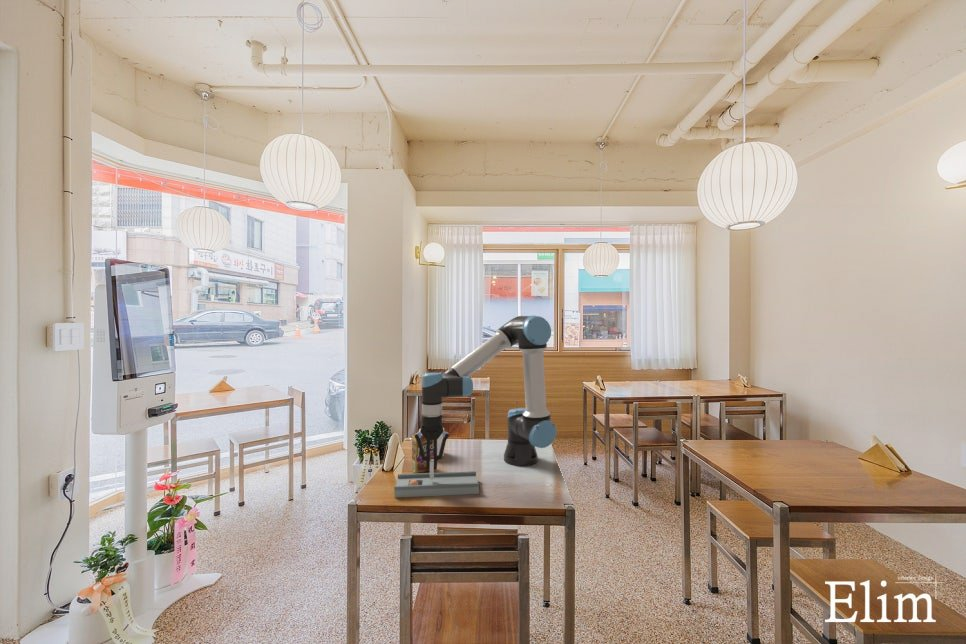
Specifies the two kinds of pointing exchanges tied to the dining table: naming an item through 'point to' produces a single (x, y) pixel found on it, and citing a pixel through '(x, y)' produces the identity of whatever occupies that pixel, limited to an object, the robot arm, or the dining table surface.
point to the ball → (413, 482)
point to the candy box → (417, 461)
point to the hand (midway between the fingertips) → (431, 478)
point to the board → (437, 484)
